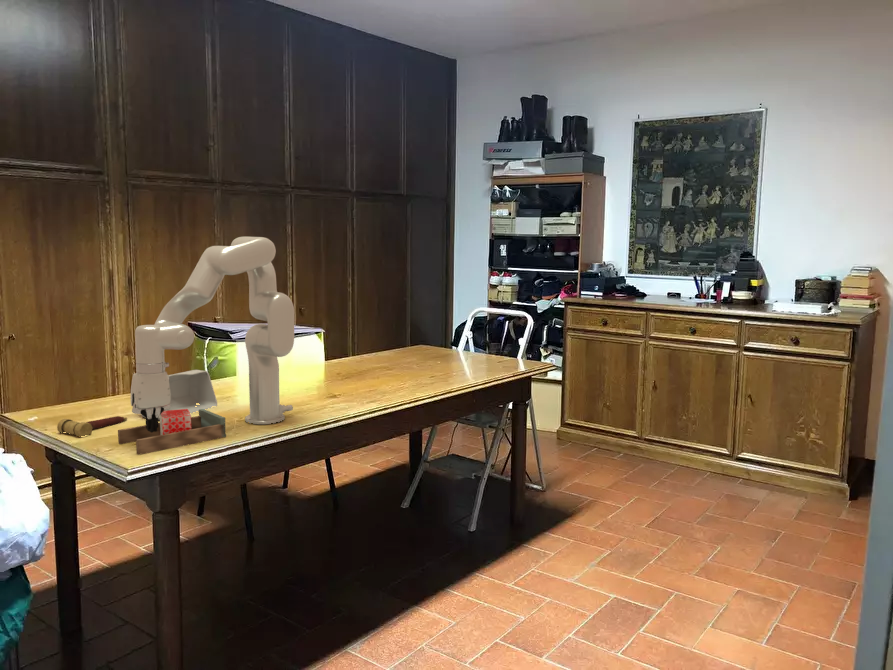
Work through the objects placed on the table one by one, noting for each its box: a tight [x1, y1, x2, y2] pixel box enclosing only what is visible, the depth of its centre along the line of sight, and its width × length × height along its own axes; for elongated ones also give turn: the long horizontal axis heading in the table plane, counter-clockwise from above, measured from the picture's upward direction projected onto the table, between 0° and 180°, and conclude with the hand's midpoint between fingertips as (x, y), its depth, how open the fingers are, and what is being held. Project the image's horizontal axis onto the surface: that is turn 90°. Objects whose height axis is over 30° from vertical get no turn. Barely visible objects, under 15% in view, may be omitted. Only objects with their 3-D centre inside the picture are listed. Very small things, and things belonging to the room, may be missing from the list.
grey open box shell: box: [140, 369, 218, 421], centre depth 246 cm, size 25×16×12 cm, turn 152°
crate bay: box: [117, 409, 227, 455], centre depth 212 cm, size 26×14×6 cm, turn 135°
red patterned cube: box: [159, 409, 192, 435], centre depth 213 cm, size 8×8×8 cm
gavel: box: [56, 415, 128, 438], centre depth 224 cm, size 21×5×10 cm
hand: (152, 430), depth 208 cm, fingers closed
